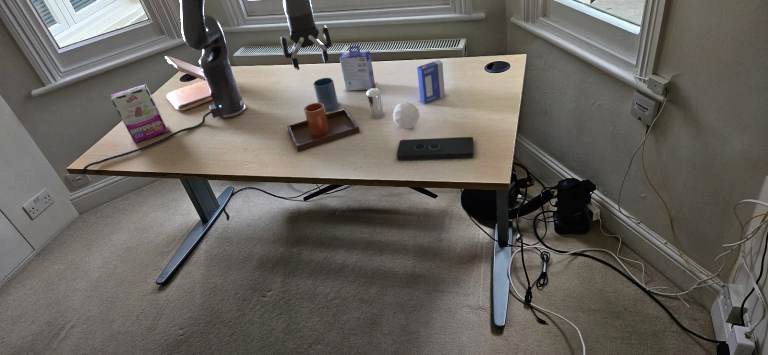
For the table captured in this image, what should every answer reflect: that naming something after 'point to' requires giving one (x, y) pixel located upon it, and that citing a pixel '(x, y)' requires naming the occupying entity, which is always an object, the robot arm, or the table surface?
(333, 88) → the glass
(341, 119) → the tray
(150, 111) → the candy bar box
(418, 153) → the smart home device
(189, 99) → the case
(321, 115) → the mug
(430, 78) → the walkman
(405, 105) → the geometric ball
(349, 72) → the ink cartridge box
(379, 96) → the milkshake
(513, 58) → the table surface
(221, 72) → the robot arm
